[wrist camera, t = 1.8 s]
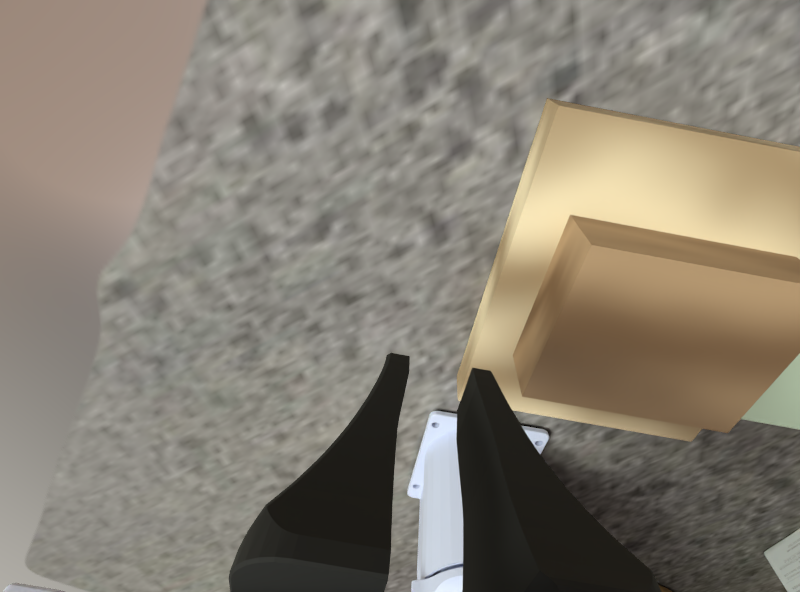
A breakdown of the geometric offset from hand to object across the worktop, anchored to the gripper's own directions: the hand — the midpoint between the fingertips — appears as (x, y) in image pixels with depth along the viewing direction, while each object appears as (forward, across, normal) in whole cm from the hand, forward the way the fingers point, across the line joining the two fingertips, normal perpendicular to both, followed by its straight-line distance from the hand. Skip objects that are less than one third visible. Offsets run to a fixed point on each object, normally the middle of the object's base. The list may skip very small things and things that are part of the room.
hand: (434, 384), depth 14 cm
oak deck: (+9, -10, 0) cm, 14 cm away
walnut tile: (+7, -10, 0) cm, 12 cm away
